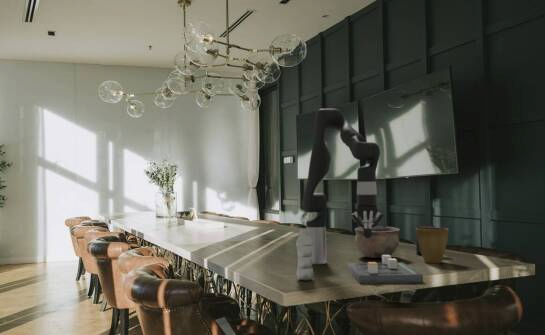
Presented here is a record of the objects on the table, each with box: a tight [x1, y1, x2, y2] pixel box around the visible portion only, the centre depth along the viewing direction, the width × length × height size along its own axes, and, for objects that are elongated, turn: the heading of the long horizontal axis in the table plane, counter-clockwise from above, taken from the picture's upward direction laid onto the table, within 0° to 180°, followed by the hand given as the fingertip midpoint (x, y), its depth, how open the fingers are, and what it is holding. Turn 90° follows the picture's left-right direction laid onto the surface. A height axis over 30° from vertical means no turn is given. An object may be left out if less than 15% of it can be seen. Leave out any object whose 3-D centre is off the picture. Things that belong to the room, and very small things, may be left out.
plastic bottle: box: [295, 228, 315, 282], centre depth 188 cm, size 6×7×20 cm
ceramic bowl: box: [354, 225, 400, 259], centre depth 242 cm, size 22×22×15 cm
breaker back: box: [381, 255, 392, 264], centre depth 205 cm, size 3×4×3 cm
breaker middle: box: [387, 257, 398, 269], centre depth 195 cm, size 3×4×3 cm
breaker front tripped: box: [367, 261, 378, 274], centre depth 185 cm, size 3×4×4 cm
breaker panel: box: [347, 262, 424, 284], centre depth 195 cm, size 24×28×3 cm
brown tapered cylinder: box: [415, 224, 436, 257], centre depth 250 cm, size 10×10×15 cm
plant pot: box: [415, 227, 450, 264], centre depth 227 cm, size 15×15×16 cm
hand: (367, 238), depth 186 cm, fingers closed
